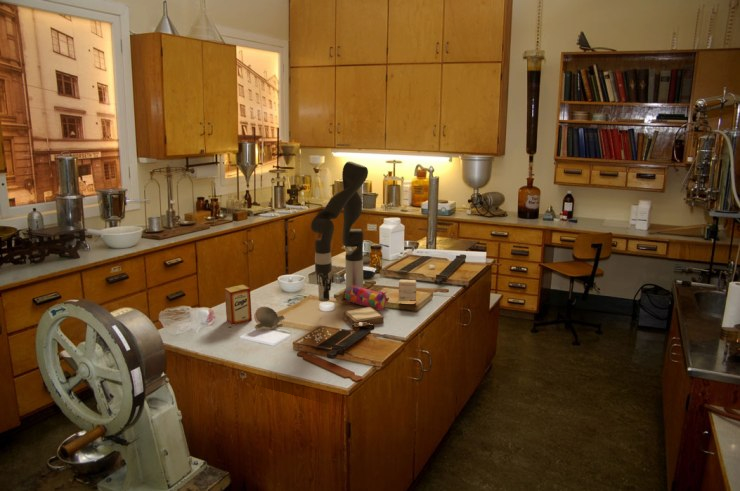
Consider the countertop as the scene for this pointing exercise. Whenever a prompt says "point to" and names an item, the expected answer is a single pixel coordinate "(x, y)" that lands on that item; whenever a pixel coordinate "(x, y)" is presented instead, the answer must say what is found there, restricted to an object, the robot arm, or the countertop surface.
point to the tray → (363, 316)
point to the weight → (321, 293)
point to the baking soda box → (238, 304)
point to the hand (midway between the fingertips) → (324, 296)
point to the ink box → (407, 290)
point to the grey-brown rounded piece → (266, 318)
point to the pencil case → (366, 297)
